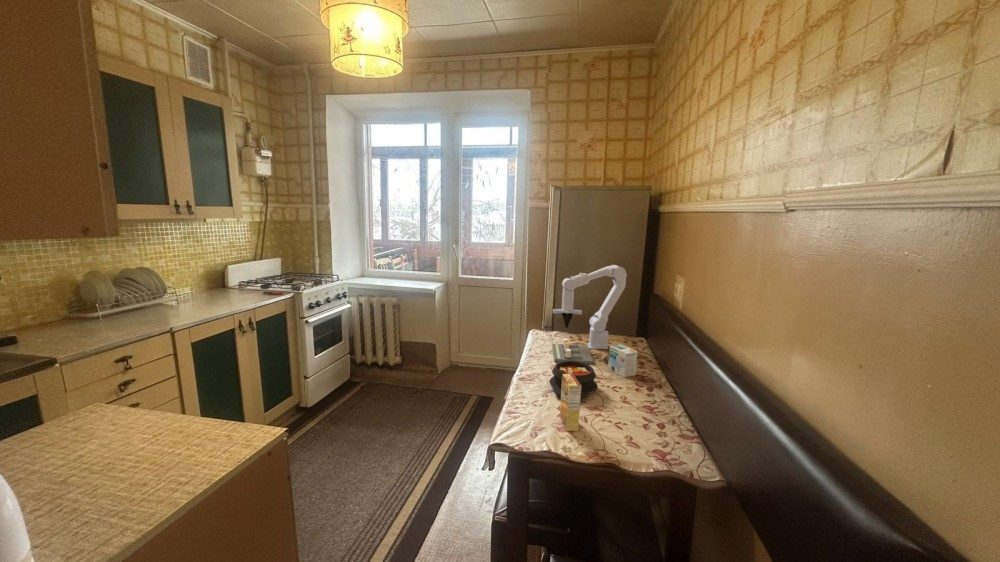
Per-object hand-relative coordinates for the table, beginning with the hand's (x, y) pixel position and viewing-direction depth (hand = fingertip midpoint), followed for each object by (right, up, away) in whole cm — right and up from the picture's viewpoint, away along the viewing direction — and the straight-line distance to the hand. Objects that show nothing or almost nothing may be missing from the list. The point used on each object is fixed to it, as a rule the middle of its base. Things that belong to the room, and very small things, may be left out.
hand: (566, 327), depth 194 cm
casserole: (-6, -18, -46) cm, 50 cm away
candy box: (-12, -23, -72) cm, 77 cm away
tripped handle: (-2, -10, -10) cm, 15 cm away
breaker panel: (+1, -12, -10) cm, 16 cm away
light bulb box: (+19, -16, -30) cm, 39 cm away
